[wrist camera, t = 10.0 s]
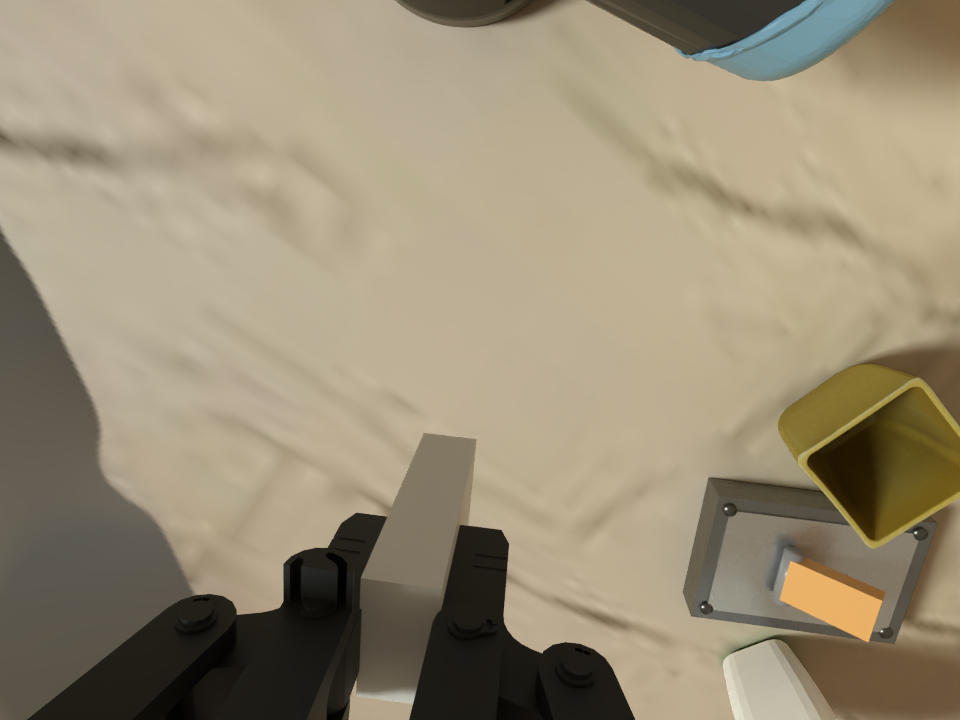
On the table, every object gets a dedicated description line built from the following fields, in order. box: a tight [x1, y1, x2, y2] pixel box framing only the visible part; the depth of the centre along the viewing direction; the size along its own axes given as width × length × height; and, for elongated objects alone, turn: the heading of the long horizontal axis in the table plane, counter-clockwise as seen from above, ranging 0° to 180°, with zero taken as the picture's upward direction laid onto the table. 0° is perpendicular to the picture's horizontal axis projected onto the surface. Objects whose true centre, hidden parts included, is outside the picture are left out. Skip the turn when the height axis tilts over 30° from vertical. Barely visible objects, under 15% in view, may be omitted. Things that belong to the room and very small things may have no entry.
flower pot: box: [778, 364, 960, 549], centre depth 43 cm, size 9×9×9 cm
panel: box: [683, 478, 938, 644], centre depth 49 cm, size 11×16×3 cm
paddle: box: [771, 546, 886, 642], centre depth 45 cm, size 4×1×7 cm
